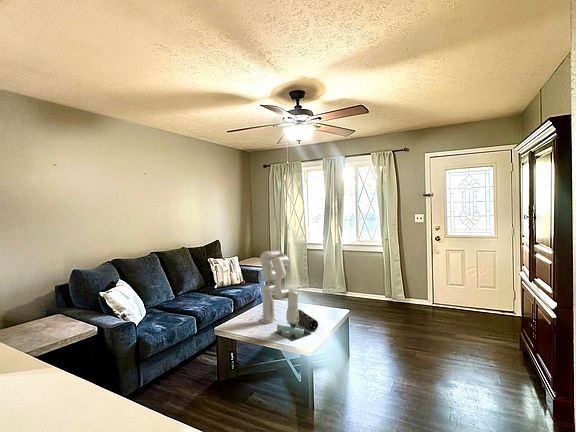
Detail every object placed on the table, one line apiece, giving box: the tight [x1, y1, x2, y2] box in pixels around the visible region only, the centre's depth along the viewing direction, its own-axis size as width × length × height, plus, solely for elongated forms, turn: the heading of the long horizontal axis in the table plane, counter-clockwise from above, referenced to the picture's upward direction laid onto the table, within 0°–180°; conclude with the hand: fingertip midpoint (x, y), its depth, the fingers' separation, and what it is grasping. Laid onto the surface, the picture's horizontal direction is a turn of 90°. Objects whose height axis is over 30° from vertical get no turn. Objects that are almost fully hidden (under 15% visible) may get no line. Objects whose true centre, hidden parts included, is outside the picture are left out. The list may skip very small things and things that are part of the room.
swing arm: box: [276, 323, 305, 334], centre depth 234 cm, size 22×4×5 cm, turn 65°
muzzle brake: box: [298, 309, 319, 332], centre depth 253 cm, size 10×28×10 cm, turn 25°
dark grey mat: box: [273, 326, 312, 342], centre depth 237 cm, size 22×20×1 cm
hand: (292, 330), depth 238 cm, fingers closed
